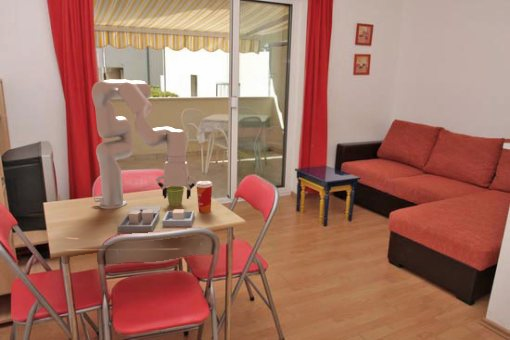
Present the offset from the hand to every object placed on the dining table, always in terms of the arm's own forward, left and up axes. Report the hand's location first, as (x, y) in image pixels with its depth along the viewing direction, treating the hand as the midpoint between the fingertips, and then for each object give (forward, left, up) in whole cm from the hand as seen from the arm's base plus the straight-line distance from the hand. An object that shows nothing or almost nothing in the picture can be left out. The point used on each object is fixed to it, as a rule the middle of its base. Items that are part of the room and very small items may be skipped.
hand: (176, 197), depth 172 cm
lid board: (-17, +12, -11) cm, 24 cm away
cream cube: (+1, -1, -10) cm, 10 cm away
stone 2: (-13, 0, -10) cm, 16 cm away
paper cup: (+11, +14, -11) cm, 21 cm away
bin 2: (+1, 0, -11) cm, 11 cm away
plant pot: (-4, +23, -11) cm, 26 cm away
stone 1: (-18, 0, -10) cm, 21 cm away
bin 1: (-15, -4, -11) cm, 19 cm away
